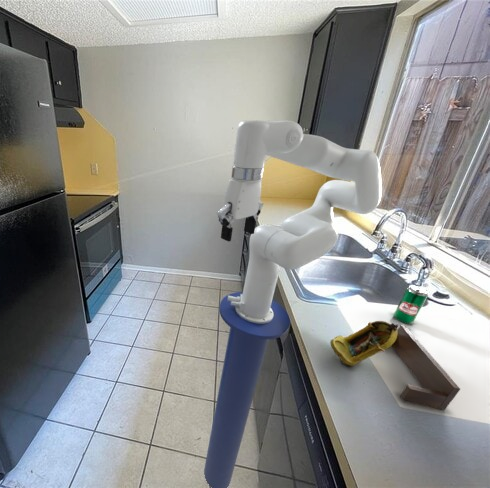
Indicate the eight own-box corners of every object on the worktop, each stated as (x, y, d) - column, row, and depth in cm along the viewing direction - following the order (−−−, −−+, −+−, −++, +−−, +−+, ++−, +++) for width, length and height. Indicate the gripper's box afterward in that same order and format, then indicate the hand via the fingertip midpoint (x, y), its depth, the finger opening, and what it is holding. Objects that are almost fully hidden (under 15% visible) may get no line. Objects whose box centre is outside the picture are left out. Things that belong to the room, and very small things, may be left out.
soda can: (391, 318, 86) (406, 288, 81) (394, 312, 89) (409, 282, 84) (411, 326, 82) (428, 295, 77) (413, 319, 86) (430, 289, 81)
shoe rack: (402, 400, 59) (416, 379, 56) (363, 338, 77) (372, 320, 74) (444, 410, 57) (460, 389, 54) (395, 344, 75) (405, 325, 72)
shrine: (377, 361, 69) (400, 316, 63) (377, 382, 63) (403, 335, 57) (328, 340, 75) (345, 298, 69) (325, 358, 69) (342, 313, 63)
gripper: (255, 169, 73) (246, 226, 80) (211, 174, 64) (206, 238, 71) (279, 173, 67) (267, 234, 74) (235, 179, 58) (226, 248, 65)
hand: (237, 236), depth 72 cm, fingers open, 9 cm apart
